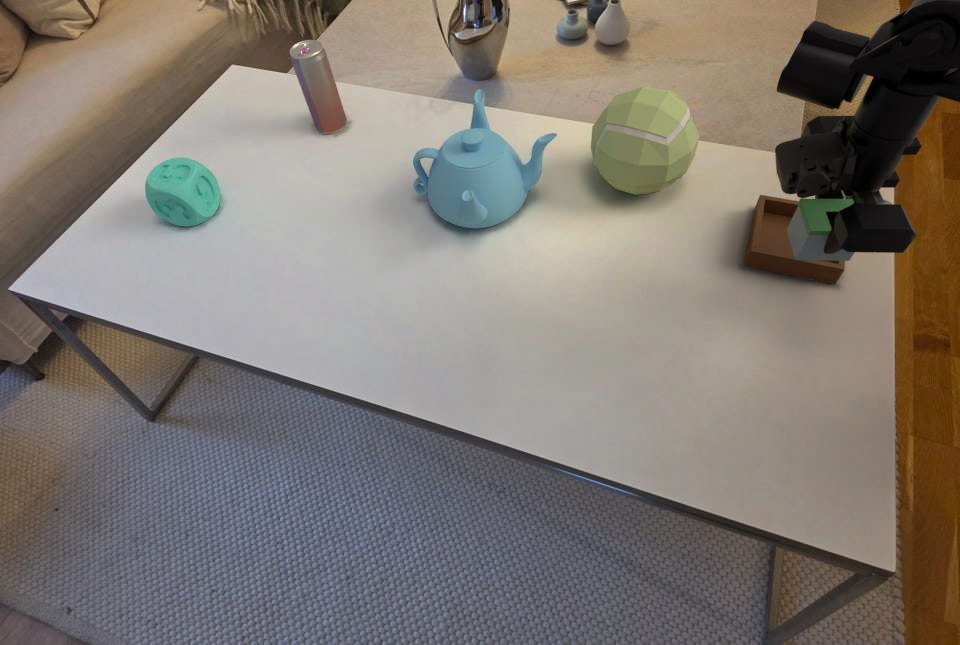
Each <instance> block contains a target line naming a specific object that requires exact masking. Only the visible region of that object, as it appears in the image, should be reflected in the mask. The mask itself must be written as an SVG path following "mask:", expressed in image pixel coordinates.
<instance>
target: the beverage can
mask: <svg viewBox="0 0 960 645" xmlns="http://www.w3.org/2000/svg"><path fill="white" fill-rule="evenodd" d="M289 55H290V62H291V64H292V68H293V71H294V72H295V75H296V78H297V81H298V84H299V86H300V89H301V91H302V95H303V97H304V101H305V102H306V105H307V108H308V111H309V114H310V117H311V119H312V122H313V124H314V128H315V129H316V130H317V131H318V132H319V133H322V134H325V135H326V134H327V135H330V134H331V135H332V134H335V133H339V132H341V130H343V129H344V128H345V126H346V125H347V124H346V123H347V116H346V112H345V109H344V105H343V102H342V99H341V95H340V93H339V90H338V87H337V86H338V85H337V83H336V80H335V77H334V73H333V71H332V68H331V64H330V61H329V58H328V54H327V51H326V49H325V48H324V46H323V43H322V42H321V41H319V40H316V39H306V40H305V39H304V40H301V41H299V42H296V43H294V44H293V45H292V46H291V47H290V49H289Z"/></svg>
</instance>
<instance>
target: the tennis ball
mask: <svg viewBox="0 0 960 645" xmlns="http://www.w3.org/2000/svg"><path fill="white" fill-rule="evenodd" d="M591 128H592V129H591V137H590V138H591V140H590V151H591V156H592V161H593V163H594V165H595V167H596V169H597V171H598V173H599V175H600V176H601V177H602V178H603V179H604V180H605V181H606V182H607V183H608V184H609V185H611V187H613V188H614V189H615V190H618V191H621V192H623V193H624V192H625V193H628V194H632V195H634V196H639V195H645V194H652V193H657V192H660V191H662V190H664V189H666V188H667V187H670V186H672V185H673V184H674V183H676V181H678V180H679V179H680V178H681V177H683V176H684V175H685V174H686V173H688V170H689V168H690V166H691V164H692V163H693V160H694V158H695V155H696V152H697V148H698V144H699V140H700V134H699V130H698V129H697V126H696V123H695V121H694V118H693V114H692V110H691V107H690V106H689V105H688V104H687V102H686V101H684V99H682V98H681V97H679V95H677V94H676V93H674V92H673V91H672V90H668V89H664V88H659V87H654V86H642V87H639V88H635V89H632V90H629V91H628V90H627V91H625V92H621V93H618V94H616V95H615V96H614V97H613V98H612V99H611V101H610V102H609V103H608V105H607V106H606V107H605V108H604V109H603V111H601V113H600V114H599V116H598V118H597V119H596V121H595V122H594V123H593V124H592V126H591Z"/></svg>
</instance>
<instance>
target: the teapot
mask: <svg viewBox="0 0 960 645" xmlns="http://www.w3.org/2000/svg"><path fill="white" fill-rule="evenodd" d="M471 115H472V116H471V122H470V128H467V129H466V128H465V129H463V130H460V131H459V130H458V131H457V132H455V133H453V134H451V135H450V136H448V138H447V139H446V140H445V141H444V142H443V143H442V144H441V146H440V148H439V149H437V148H434V147H423V148H421V149H419V150H418V151H417V152H416V153H415V155H414V156H413V159H412V163H413V168H414V171H415V173H416V175H417V177H418V178H416V179H415V180H414V182H413V190H414V191H415V193H417V194H419V195H423V196H425V195H427V198H428V202H429V205H430V206H431V208H432V209H433V211H434V213H435V214H437V216H439V217H440V218H441V219H443V220H444V221H446V222H448V223H450V224H452V225H454V226H458V227H460V228H465V229H485V228H490V227H493V226H496V225H497V226H498V225H499V224H502V223H503V222H505V221H506V220H508V219H510V218H511V217H512V216H513V215H514V214H516V213H517V212H518V211H519V210H520V209H521V207H522V206H523V205H524V202H525V201H526V198H527V196H528V193H529V191H530V190H531V189H533V188H534V187H535V186H536V185H537V184H538V183H539V181H540V179H541V176H542V172H543V158H544V152H545V149H546V147H547V146H548V144H550V143H551V142H552V141H553V140H554V139H556V137H557V136H558V135H557V133H556V132H550V133H547V134H544V135H542V136H540V137H539V138H537V139H536V140H535V142H534V143H533V145H532V148H531V155H530V159H529V160H528V162H526V163H525V164H523V162H522V160H521V157H520V156H519V155H518V153H517V151H516V150H515V149H514V148H513V146H512V145H511V144H509V142H508V141H507V140H506V139H504V137H502V136H501V135H500V134H498V133H497V132H495V131H493V130H492V129H491V127H490V123H489V120H488V117H487V113H486V109H485V92H484V89H482V88H478V89H476V91H475V93H474V96H473V106H472V114H471ZM422 159H433V160H432V163H431V165H430V167H429V168H430V169H429V172H428V174H427V173H426V171H425V169H424V167H423V165H422V162H421V160H422Z"/></svg>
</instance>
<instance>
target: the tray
mask: <svg viewBox="0 0 960 645" xmlns="http://www.w3.org/2000/svg"><path fill="white" fill-rule="evenodd" d="M798 202H799V200H795V199H794V200H793V199H788V198H781V197H776V196H770V195H766V194H759V197H758V199H757V201H756V204H755V206H754V209H753V212H752V220H751V225H750V231H749V237H748V243H747V248H746V255H745V260H744V267H749V268H752V269H753V268H754V269H759V270H763V271H769V272H773V273H777V274H783V275H786V276H787V275H788V276H792V277H797V278H800V279H801V278H802V279H806V280H812V281H815V282H819V283H826V284H832V285H836V284H837V283H838V281H839V279H840V278H841V277H842V274H843V273H844V271H845V270H846V261H832V260H795V257H794V253H793V250H792V246H791V243H790V239H789V236H788V233H787V228H788V226H789V224H790V222H791V220H792V218H793V215H794V213H795V211H796V209H797V207H798Z"/></svg>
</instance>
